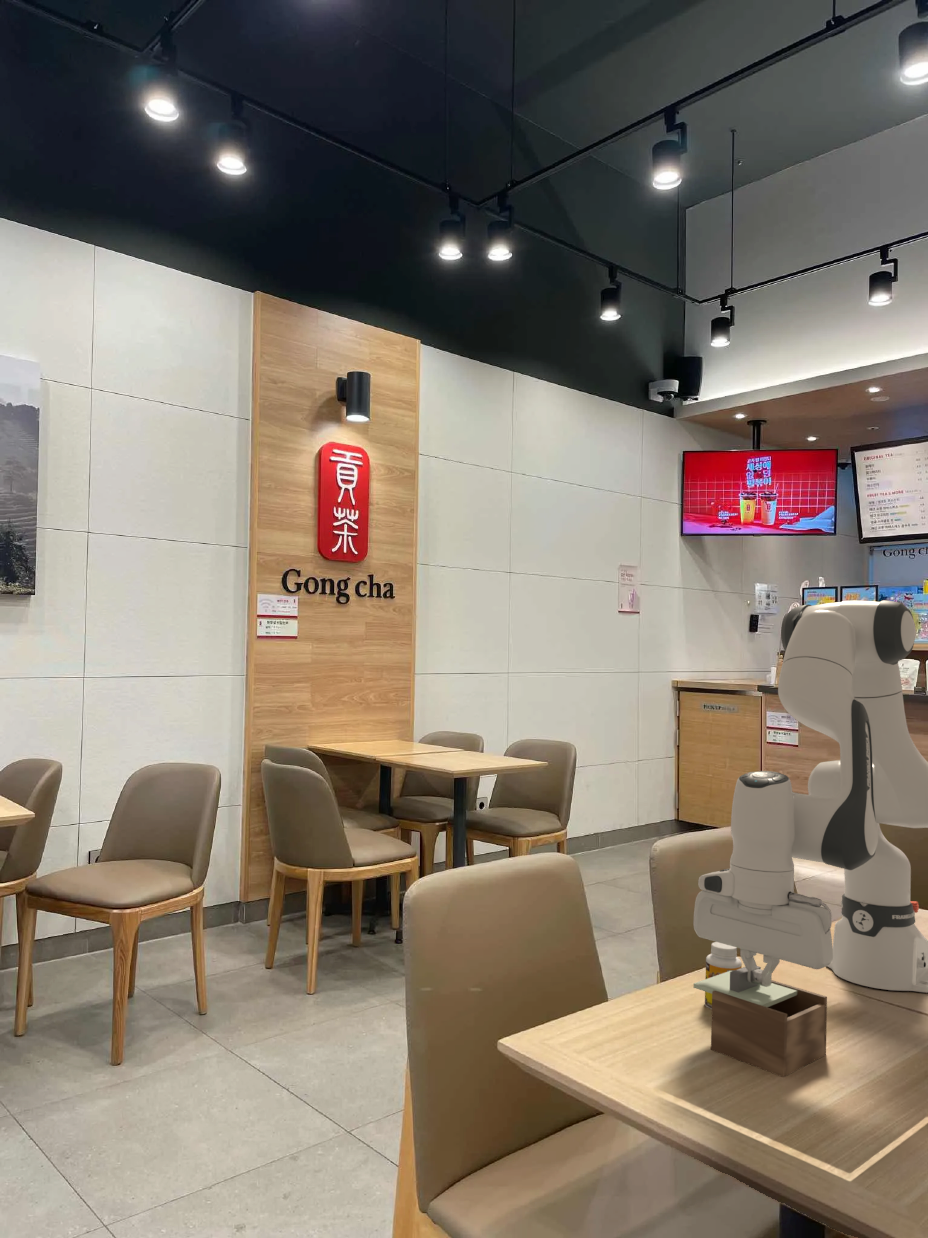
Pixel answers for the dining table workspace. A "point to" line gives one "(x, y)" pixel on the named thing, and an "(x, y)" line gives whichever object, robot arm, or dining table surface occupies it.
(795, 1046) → the walnut box
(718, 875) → the robot arm
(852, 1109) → the dining table surface
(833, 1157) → the dining table surface
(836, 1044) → the dining table surface
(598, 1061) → the dining table surface
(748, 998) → the lid
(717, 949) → the supplement bottle
